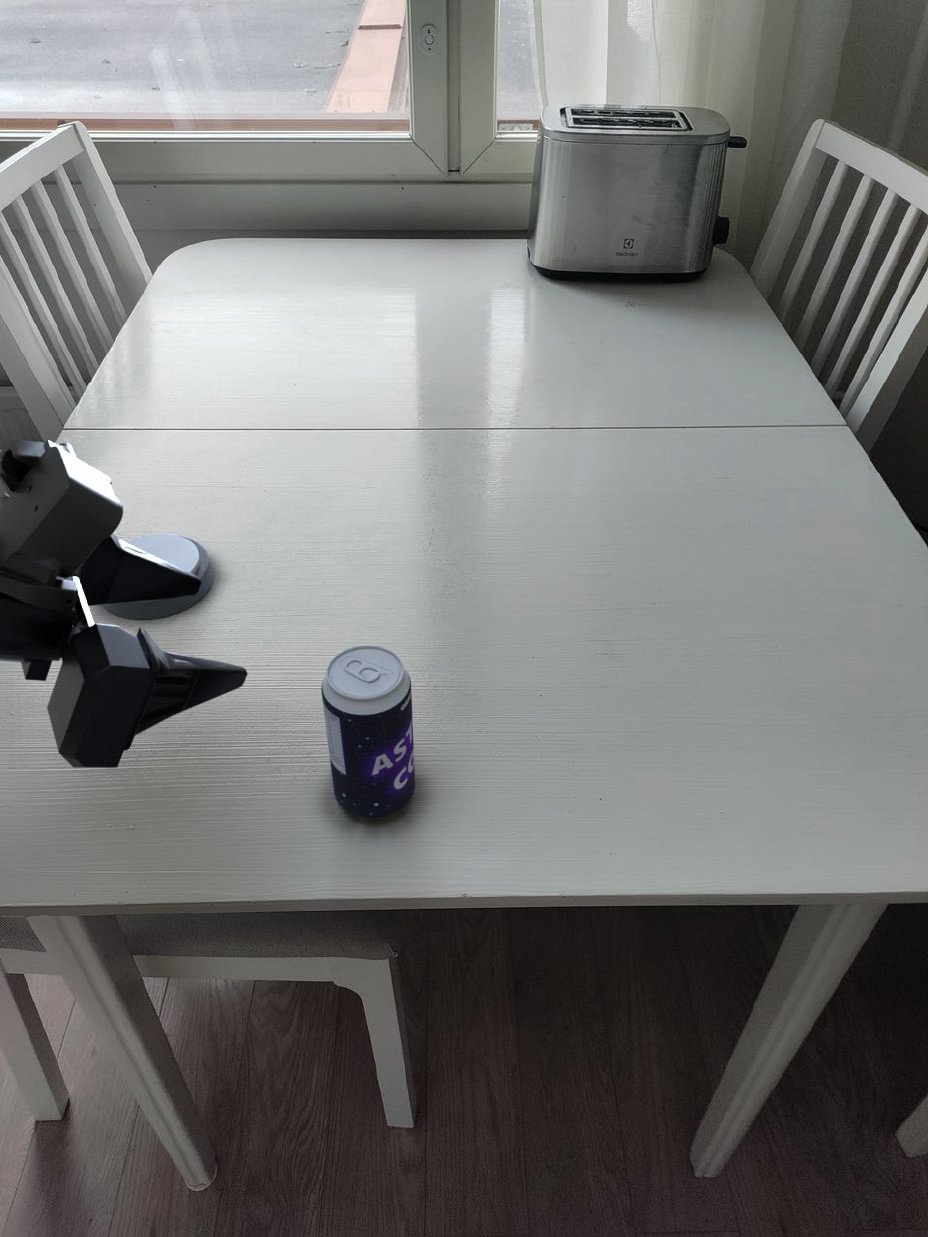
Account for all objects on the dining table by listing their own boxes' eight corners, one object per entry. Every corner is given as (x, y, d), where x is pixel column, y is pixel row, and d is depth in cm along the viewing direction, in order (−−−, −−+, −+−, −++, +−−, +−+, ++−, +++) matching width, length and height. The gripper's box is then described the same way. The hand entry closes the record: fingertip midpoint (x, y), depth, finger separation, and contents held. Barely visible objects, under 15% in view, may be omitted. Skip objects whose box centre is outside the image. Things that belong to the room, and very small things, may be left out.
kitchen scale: (122, 635, 80) (115, 611, 79) (81, 576, 87) (74, 553, 85) (231, 591, 85) (227, 568, 83) (185, 538, 91) (180, 516, 90)
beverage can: (378, 841, 64) (368, 716, 57) (318, 800, 67) (300, 676, 59) (431, 789, 68) (429, 665, 60) (372, 752, 71) (362, 629, 63)
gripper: (-17, 558, 37) (331, 607, 47) (-60, 367, 50) (220, 437, 59) (-78, 774, 41) (252, 777, 51) (-103, 548, 54) (165, 585, 64)
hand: (220, 629), depth 56 cm, fingers open, 9 cm apart
